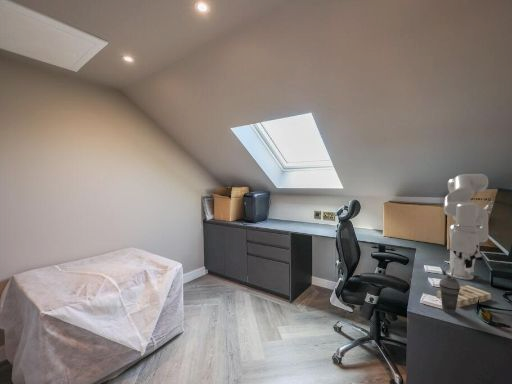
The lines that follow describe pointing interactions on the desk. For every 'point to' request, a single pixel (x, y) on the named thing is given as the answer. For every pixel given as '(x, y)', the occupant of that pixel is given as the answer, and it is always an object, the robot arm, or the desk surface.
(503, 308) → the desk surface
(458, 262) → the clip
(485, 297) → the slatted wooden pallet
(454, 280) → the beverage cup
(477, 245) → the robot arm
